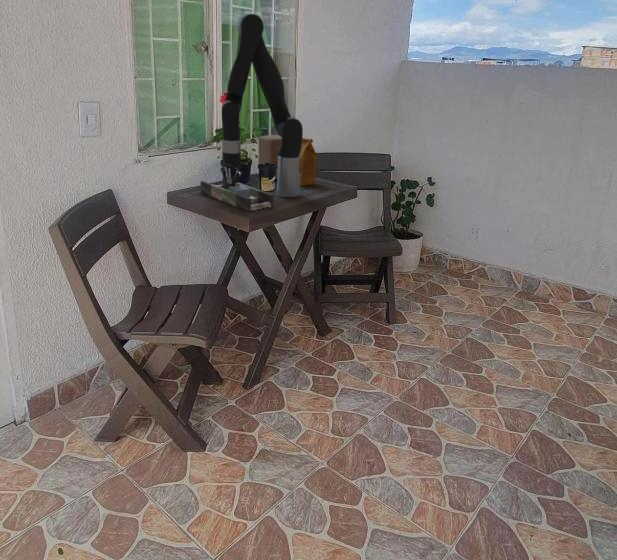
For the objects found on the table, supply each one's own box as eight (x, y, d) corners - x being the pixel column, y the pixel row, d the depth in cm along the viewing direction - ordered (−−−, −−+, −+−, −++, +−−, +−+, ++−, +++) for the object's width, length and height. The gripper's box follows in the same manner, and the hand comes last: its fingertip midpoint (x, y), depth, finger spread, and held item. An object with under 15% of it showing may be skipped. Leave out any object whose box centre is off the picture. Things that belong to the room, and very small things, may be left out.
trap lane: (224, 188, 251) (224, 177, 249) (273, 206, 227) (273, 194, 225) (200, 192, 243) (200, 181, 241) (248, 211, 219) (248, 199, 217)
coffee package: (304, 180, 274) (306, 134, 265) (317, 186, 264) (320, 138, 255) (286, 181, 269) (288, 135, 260) (299, 187, 259) (301, 139, 250)
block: (257, 177, 275) (257, 136, 267) (272, 174, 281) (273, 134, 273) (270, 181, 268) (271, 139, 260) (286, 178, 275) (287, 137, 267)
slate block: (241, 194, 235) (241, 185, 233) (249, 198, 230) (250, 189, 228) (228, 196, 232) (228, 186, 230) (237, 200, 226) (237, 190, 225)
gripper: (248, 152, 227) (248, 194, 234) (229, 147, 236) (229, 187, 242) (233, 154, 222) (233, 196, 229) (214, 149, 231) (215, 190, 238)
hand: (231, 192), depth 236 cm, fingers closed
